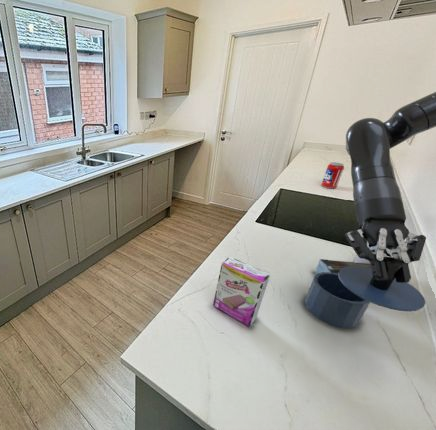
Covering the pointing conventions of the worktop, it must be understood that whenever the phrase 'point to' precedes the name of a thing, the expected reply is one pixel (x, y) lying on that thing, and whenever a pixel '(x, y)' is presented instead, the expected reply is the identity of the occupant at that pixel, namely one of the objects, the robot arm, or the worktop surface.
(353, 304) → the pot
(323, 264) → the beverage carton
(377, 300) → the lid
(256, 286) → the candy bar box
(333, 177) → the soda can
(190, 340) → the worktop surface
